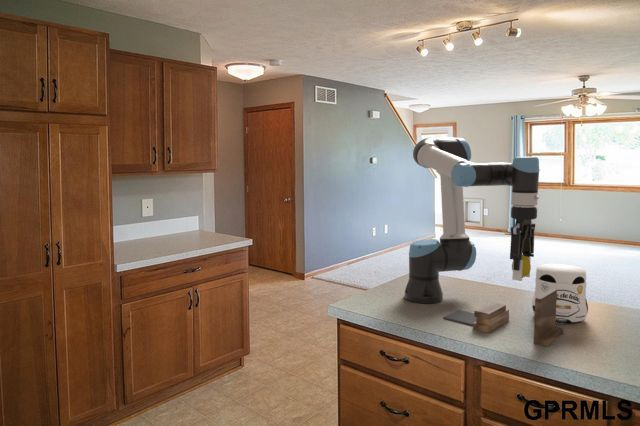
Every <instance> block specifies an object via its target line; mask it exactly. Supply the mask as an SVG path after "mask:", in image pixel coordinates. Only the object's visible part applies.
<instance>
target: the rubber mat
mask: <svg viewBox="0 0 640 426" xmlns="http://www.w3.org/2000/svg"><path fill="white" fill-rule="evenodd" d="M442 318H443V319H444V320H448V321H450V322H454V323H455V322H456V323H460V324H463V325H467V326H471V327H473V323H474V322H476V317H474V312H471V311H466V310H462V309H457V310H455V311H453V312H451V313H449V314H447V315H444V316H443V317H442Z"/></svg>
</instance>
